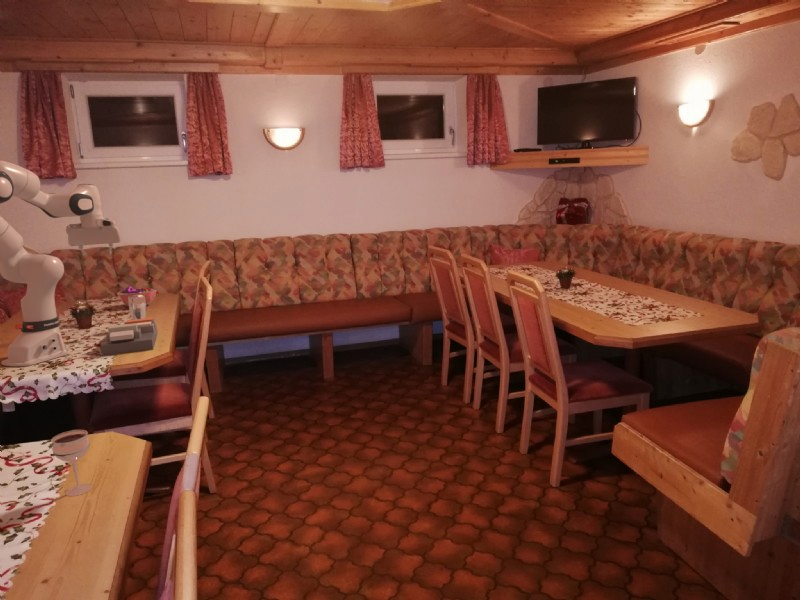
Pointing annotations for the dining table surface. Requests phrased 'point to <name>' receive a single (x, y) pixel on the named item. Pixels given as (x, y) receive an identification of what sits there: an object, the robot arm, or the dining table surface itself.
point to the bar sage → (123, 328)
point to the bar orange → (139, 320)
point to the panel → (131, 341)
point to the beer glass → (137, 306)
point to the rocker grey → (121, 335)
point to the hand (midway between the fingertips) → (97, 255)
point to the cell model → (129, 291)
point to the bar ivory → (144, 324)
